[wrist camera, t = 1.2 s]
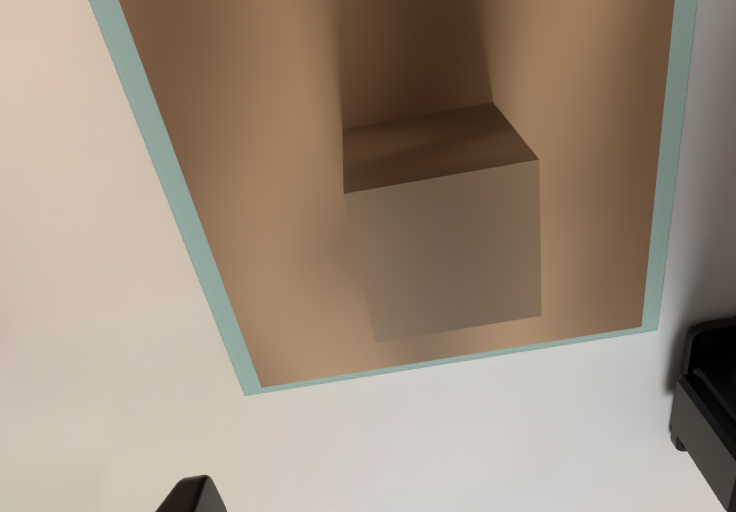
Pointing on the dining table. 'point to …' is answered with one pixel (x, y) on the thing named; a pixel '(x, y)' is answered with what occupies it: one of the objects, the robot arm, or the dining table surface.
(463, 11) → the walnut lid
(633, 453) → the dining table surface
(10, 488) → the dining table surface
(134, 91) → the teal mat
